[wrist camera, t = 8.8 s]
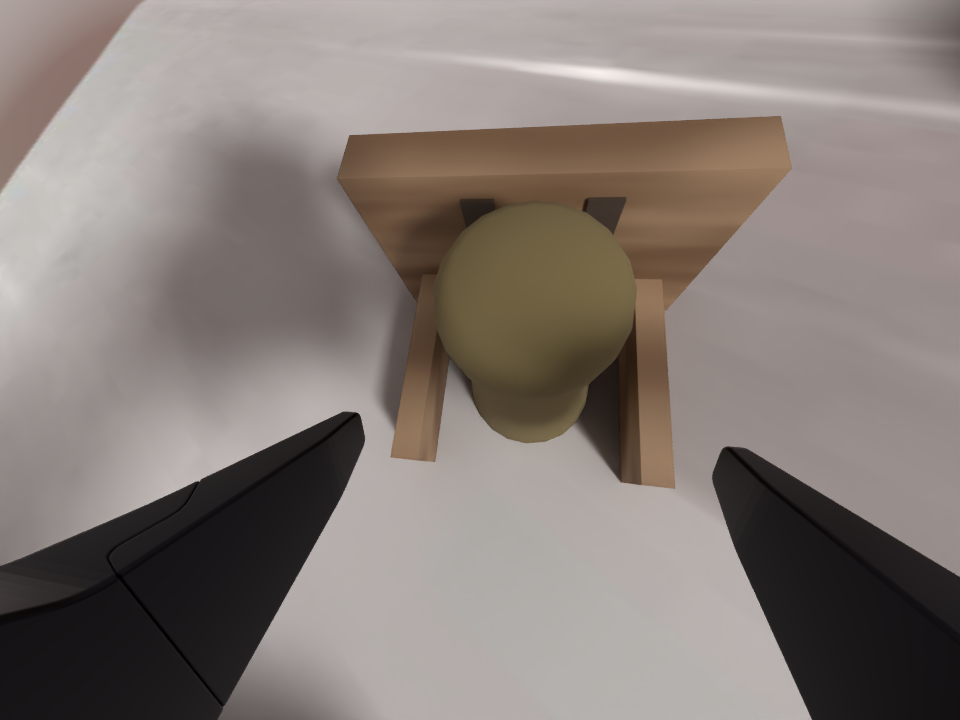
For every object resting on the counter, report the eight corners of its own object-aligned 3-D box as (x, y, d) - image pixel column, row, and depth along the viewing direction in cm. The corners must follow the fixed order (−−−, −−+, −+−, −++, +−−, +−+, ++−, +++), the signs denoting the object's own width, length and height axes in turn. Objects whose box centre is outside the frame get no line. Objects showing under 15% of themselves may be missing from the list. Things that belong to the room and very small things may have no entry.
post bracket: (678, 488, 15) (865, 511, 7) (388, 456, 18) (259, 444, 9) (664, 277, 19) (780, 116, 10) (421, 272, 21) (349, 135, 12)
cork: (461, 347, 19) (382, 198, 9) (567, 319, 19) (618, 130, 8) (486, 455, 17) (421, 435, 7) (604, 426, 17) (734, 357, 6)
